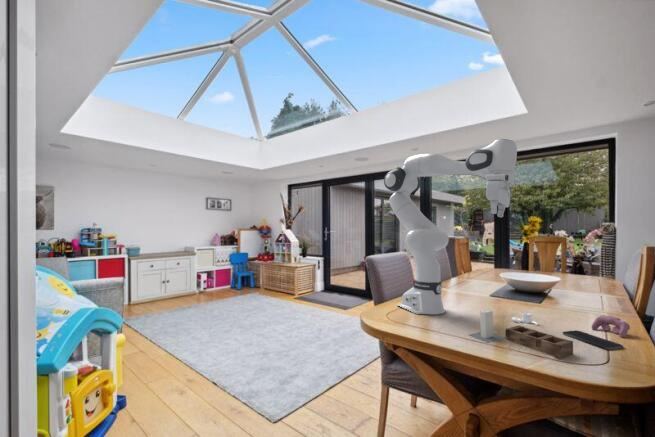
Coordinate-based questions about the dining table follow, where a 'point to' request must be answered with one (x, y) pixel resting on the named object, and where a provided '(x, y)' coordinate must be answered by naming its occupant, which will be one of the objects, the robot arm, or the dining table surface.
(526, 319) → the teacup and saucer
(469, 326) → the dining table surface
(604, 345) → the phone
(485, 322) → the block
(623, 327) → the video game controller
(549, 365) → the dining table surface
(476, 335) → the mat
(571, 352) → the rack
